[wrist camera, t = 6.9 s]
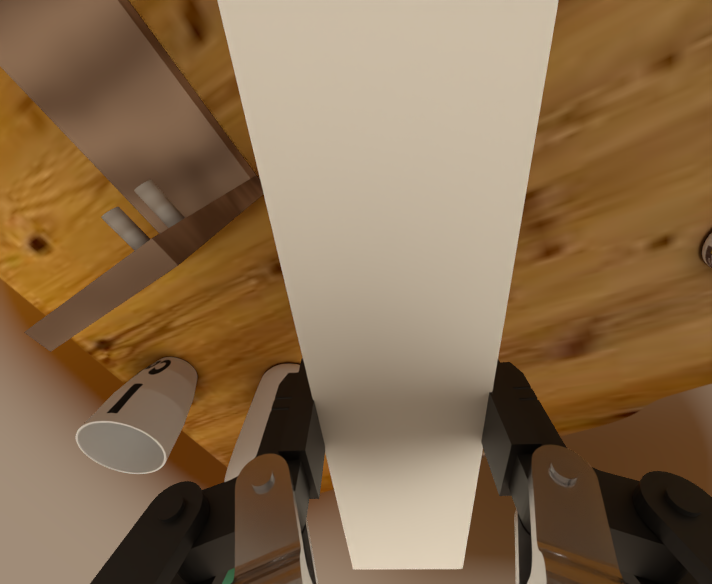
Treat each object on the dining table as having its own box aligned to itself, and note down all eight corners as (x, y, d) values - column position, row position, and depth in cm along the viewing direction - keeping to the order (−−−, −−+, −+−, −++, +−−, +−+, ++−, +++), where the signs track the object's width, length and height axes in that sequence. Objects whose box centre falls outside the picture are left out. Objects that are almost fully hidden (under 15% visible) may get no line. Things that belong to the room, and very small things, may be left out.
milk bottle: (251, 389, 40) (161, 607, 22) (279, 350, 36) (200, 571, 19) (304, 414, 42) (260, 631, 24) (336, 379, 38) (311, 602, 21)
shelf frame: (-131, -94, 19) (-1130, -500, 6) (-52, -245, 17) (-1548, -1510, 4) (186, 246, 30) (50, 351, 17) (267, 190, 27) (177, 265, 14)
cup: (172, 336, 36) (111, 409, 27) (224, 381, 39) (183, 458, 30) (127, 364, 38) (57, 440, 29) (179, 404, 41) (130, 482, 33)
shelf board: (261, -12, 7) (198, -82, 4) (496, -45, 7) (583, -144, 4) (355, 500, 17) (353, 569, 15) (447, 498, 17) (462, 568, 14)
